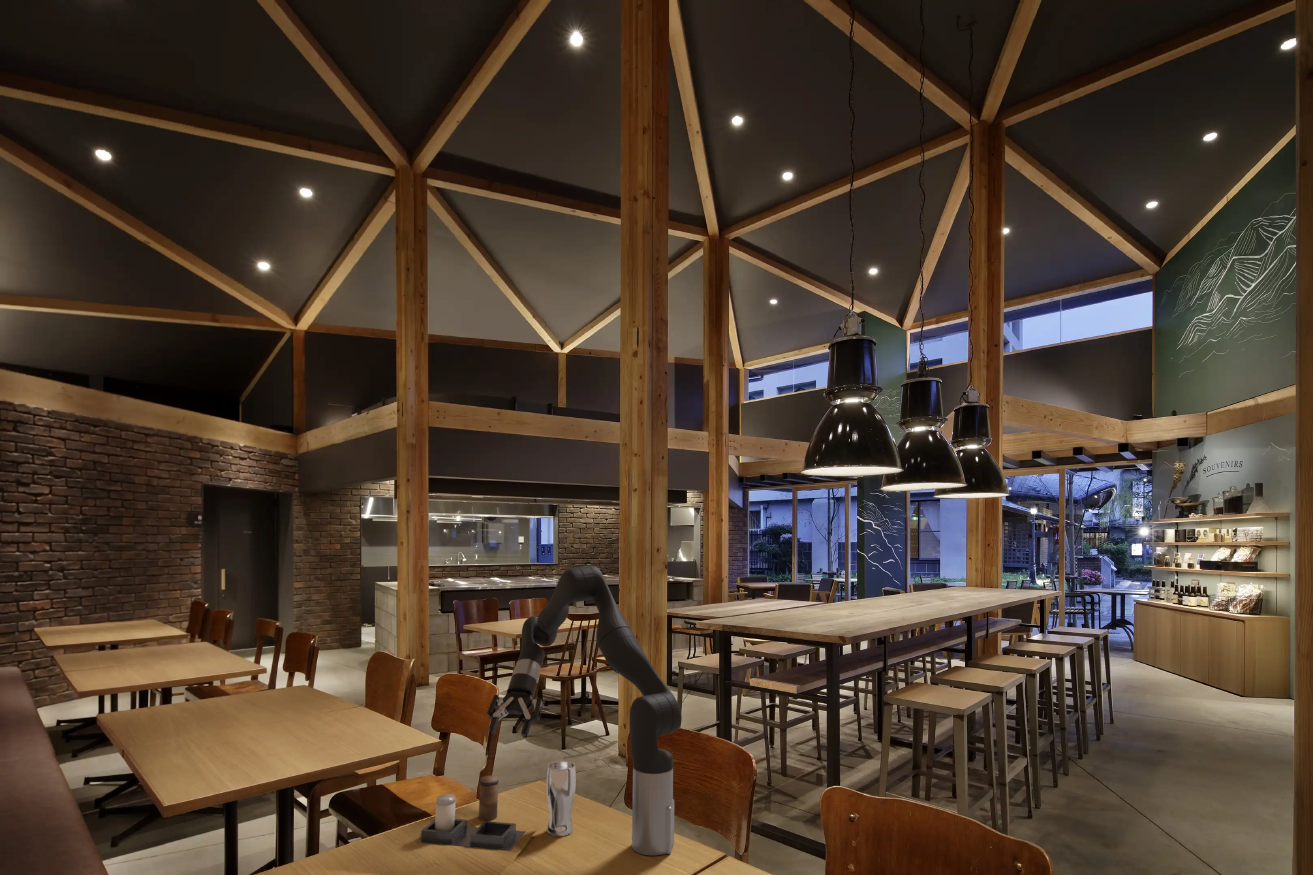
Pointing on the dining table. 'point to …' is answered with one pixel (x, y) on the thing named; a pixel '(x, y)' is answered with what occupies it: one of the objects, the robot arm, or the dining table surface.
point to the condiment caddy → (474, 835)
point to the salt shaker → (445, 813)
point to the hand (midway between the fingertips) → (507, 733)
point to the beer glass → (560, 797)
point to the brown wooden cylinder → (488, 798)
